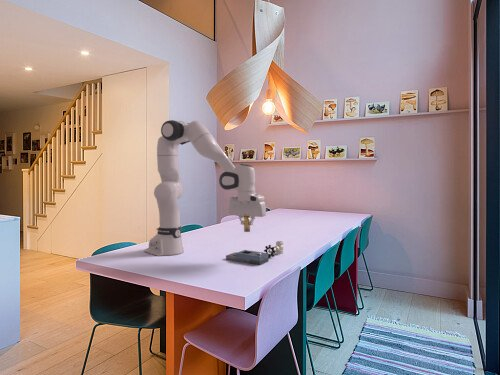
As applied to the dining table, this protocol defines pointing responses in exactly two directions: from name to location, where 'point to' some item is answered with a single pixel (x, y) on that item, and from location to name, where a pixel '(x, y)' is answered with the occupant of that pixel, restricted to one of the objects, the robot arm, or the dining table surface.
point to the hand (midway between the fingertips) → (246, 224)
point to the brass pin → (246, 223)
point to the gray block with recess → (249, 257)
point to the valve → (275, 249)
